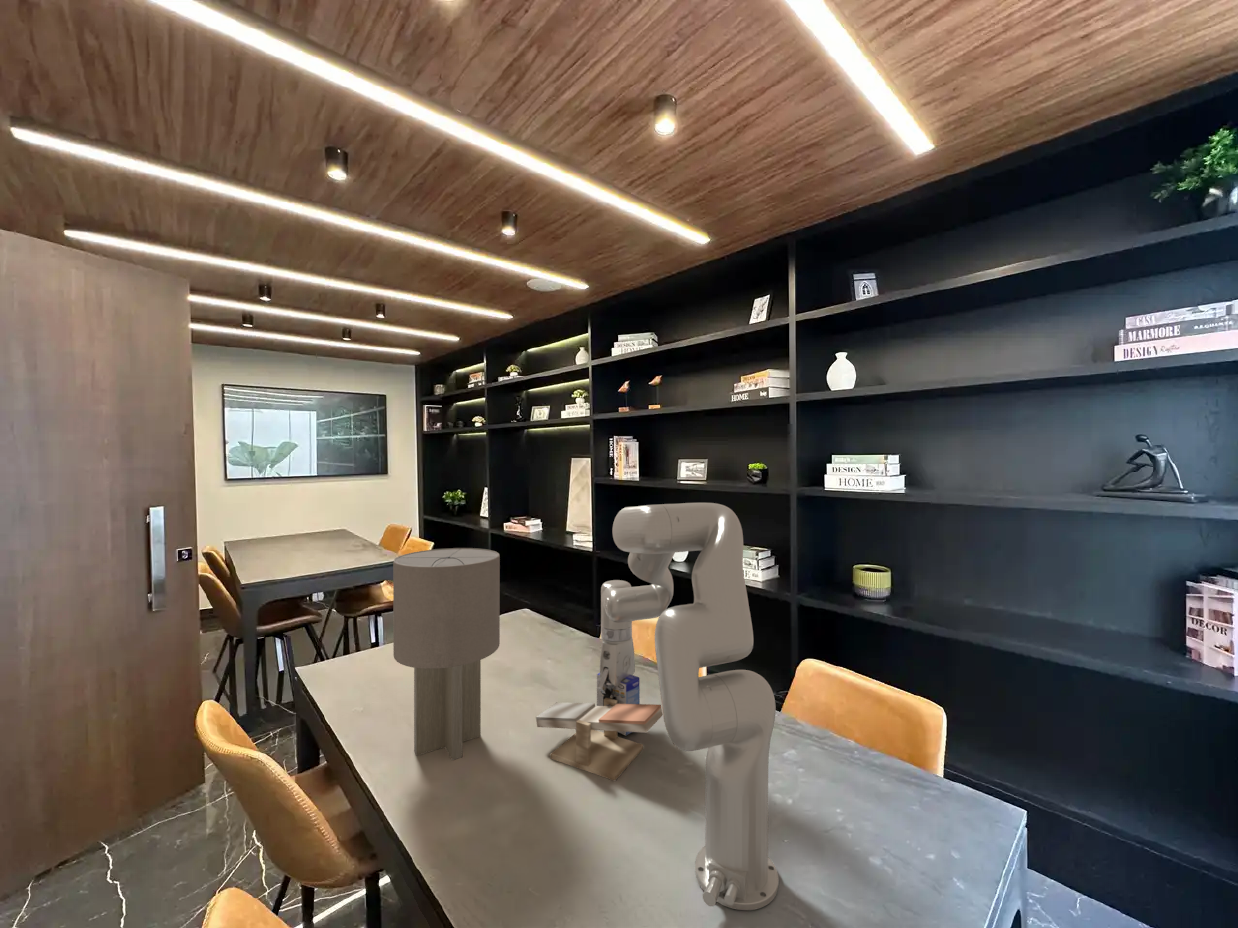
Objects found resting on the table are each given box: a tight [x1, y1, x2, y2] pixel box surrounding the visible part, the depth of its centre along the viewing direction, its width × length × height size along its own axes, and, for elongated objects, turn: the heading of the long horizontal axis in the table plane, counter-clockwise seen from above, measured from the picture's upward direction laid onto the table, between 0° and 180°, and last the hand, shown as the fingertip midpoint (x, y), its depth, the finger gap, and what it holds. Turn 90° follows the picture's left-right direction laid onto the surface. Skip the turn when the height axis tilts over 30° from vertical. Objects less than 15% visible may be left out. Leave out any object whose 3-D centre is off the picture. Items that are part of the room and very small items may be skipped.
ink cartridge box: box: [596, 672, 641, 736], centre depth 123 cm, size 10×6×14 cm, turn 49°
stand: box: [550, 698, 644, 781], centre depth 112 cm, size 16×13×10 cm
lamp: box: [392, 547, 501, 761], centre depth 116 cm, size 23×23×43 cm
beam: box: [535, 701, 663, 733], centre depth 112 cm, size 28×10×2 cm, turn 61°
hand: (616, 705), depth 123 cm, fingers closed on ink cartridge box, 6 cm apart
